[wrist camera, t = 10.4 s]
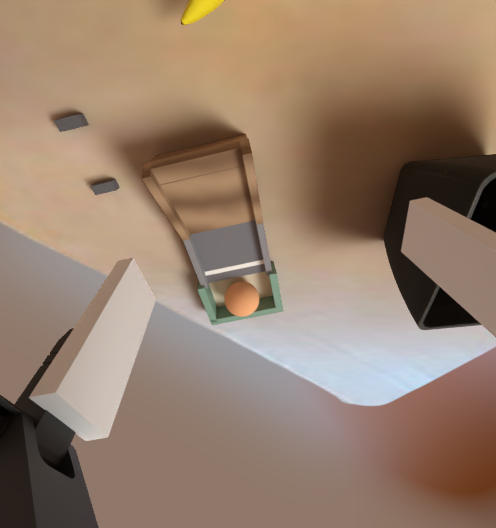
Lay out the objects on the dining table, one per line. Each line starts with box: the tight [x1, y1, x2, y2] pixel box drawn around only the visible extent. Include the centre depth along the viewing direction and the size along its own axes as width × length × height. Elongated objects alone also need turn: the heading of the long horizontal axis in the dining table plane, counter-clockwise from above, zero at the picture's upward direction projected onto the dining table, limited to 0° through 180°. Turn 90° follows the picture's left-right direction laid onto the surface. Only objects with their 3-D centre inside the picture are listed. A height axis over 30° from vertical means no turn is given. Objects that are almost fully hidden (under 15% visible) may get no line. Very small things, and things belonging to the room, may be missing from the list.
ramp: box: [141, 134, 263, 241], centre depth 33 cm, size 12×12×8 cm
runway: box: [183, 220, 272, 288], centre depth 40 cm, size 10×12×3 cm
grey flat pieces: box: [54, 114, 120, 195], centre depth 32 cm, size 9×3×1 cm, turn 12°
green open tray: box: [197, 262, 283, 325], centre depth 45 cm, size 9×13×4 cm, turn 102°
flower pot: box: [384, 154, 496, 330], centre depth 32 cm, size 19×19×17 cm
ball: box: [224, 281, 259, 317], centre depth 44 cm, size 6×6×6 cm
